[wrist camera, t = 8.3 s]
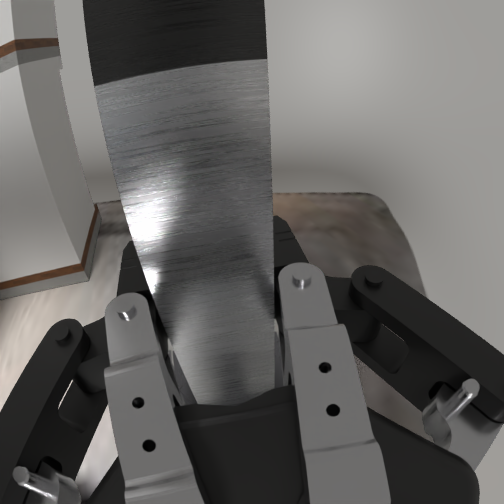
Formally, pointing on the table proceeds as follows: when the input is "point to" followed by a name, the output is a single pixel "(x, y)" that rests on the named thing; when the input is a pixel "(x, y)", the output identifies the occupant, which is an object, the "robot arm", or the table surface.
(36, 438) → the robot arm
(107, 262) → the table surface
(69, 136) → the display case
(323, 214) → the table surface
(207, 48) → the fader
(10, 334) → the table surface
